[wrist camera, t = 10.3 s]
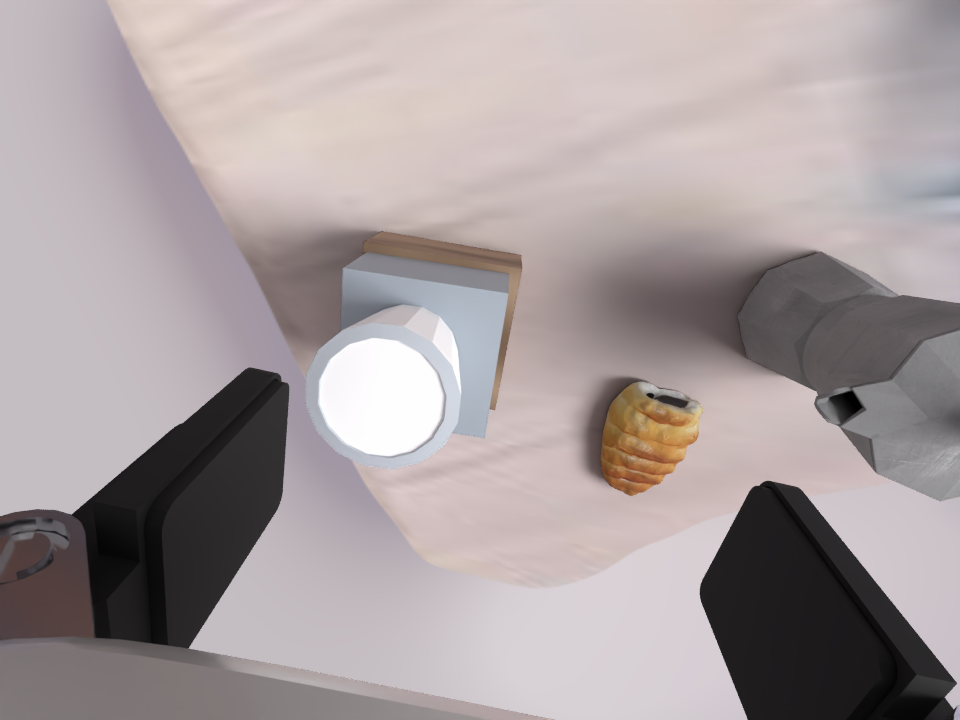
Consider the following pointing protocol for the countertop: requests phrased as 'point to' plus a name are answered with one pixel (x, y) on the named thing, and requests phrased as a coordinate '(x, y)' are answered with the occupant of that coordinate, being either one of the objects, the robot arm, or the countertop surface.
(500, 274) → the grey top block
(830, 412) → the coffeepot
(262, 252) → the countertop surface
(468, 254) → the walnut base block
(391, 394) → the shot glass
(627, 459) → the pastry
